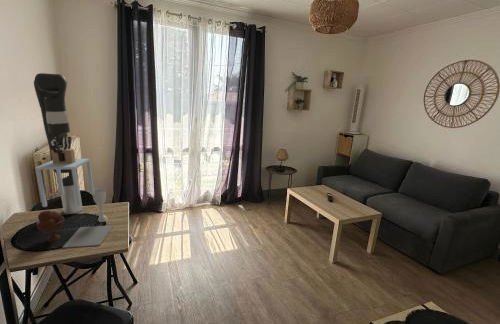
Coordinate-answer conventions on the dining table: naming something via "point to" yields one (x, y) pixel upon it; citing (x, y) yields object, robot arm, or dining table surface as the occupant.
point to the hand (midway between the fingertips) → (64, 160)
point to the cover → (57, 165)
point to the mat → (88, 236)
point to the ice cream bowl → (50, 223)
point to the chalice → (100, 202)
